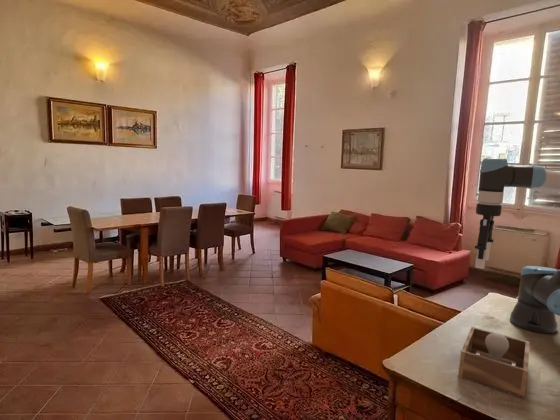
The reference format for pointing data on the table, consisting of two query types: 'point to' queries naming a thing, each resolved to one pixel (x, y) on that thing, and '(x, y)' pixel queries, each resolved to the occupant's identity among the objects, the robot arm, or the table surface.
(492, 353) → the lightbulb
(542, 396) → the table surface
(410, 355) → the table surface
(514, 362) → the crate
